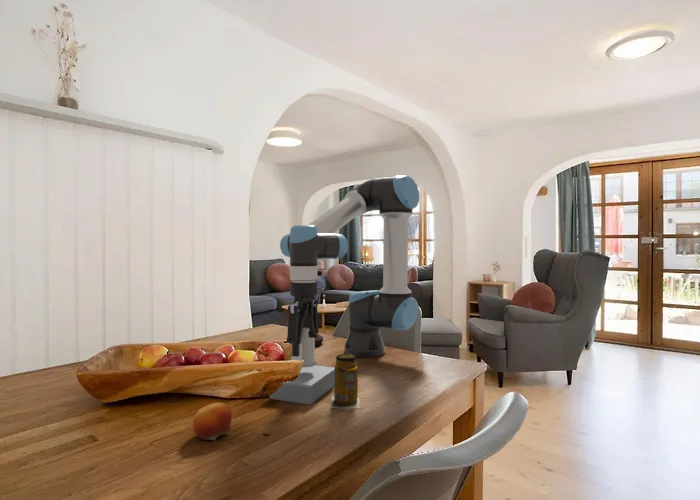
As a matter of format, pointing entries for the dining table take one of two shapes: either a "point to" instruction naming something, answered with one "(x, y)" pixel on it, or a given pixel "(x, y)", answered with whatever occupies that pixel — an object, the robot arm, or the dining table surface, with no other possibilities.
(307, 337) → the flask
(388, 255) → the robot arm
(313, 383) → the slate box
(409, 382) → the dining table surface
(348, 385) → the condiment
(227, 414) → the fruit
